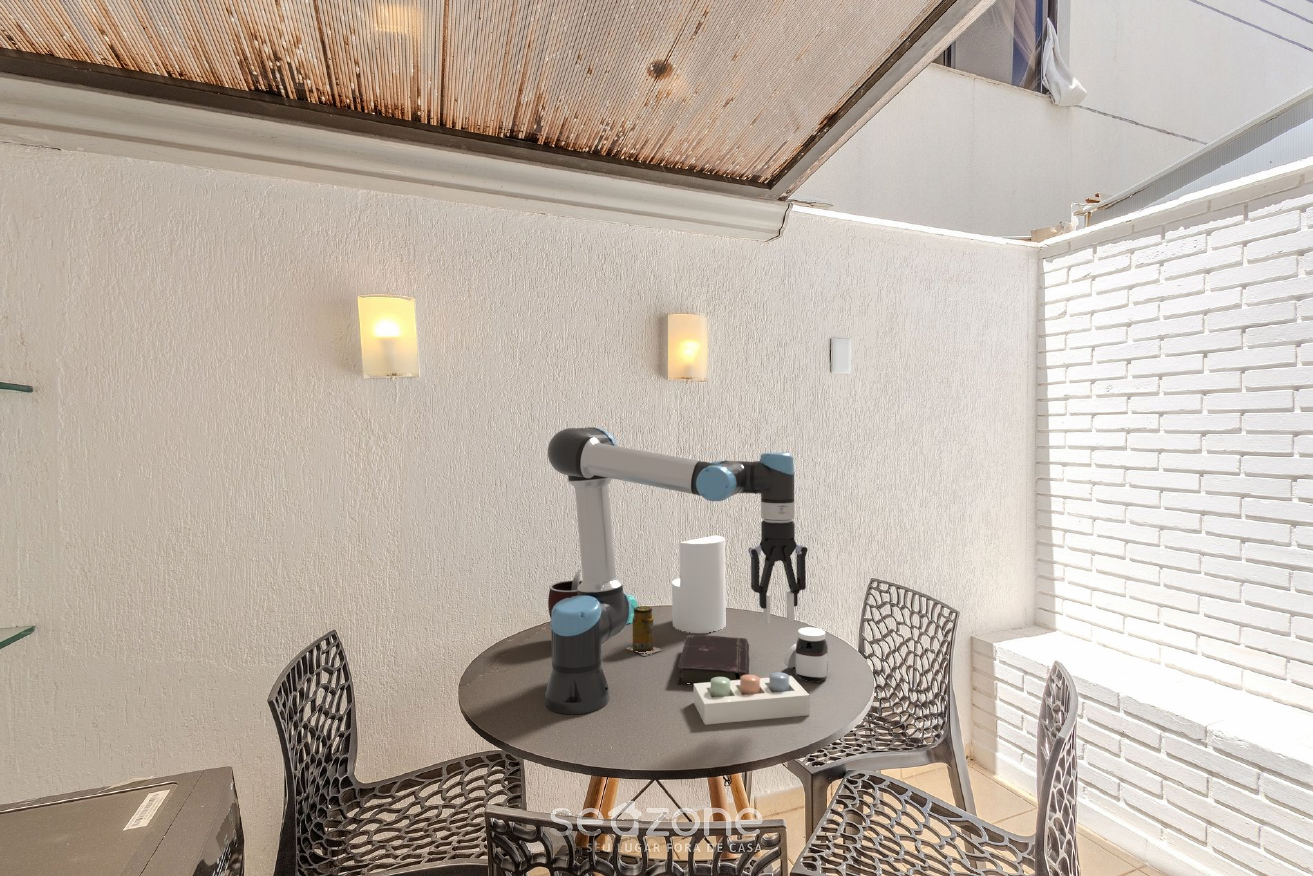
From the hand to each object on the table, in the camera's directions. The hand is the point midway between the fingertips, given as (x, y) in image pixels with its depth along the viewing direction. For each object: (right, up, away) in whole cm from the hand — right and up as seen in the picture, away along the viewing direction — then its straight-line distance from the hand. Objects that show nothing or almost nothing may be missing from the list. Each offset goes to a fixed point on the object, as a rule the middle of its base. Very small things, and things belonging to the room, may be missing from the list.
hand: (778, 621), depth 145 cm
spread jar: (+11, -19, +19) cm, 29 cm away
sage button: (-14, -16, -2) cm, 21 cm away
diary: (-13, -20, +24) cm, 34 cm away
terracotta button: (-7, -16, -1) cm, 18 cm away
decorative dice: (-40, -19, +65) cm, 78 cm away
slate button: (0, -16, 0) cm, 16 cm away
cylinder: (-14, -19, +60) cm, 65 cm away
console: (-7, -20, -1) cm, 21 cm away
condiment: (-31, -20, +38) cm, 53 cm away
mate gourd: (-53, -20, +46) cm, 73 cm away
